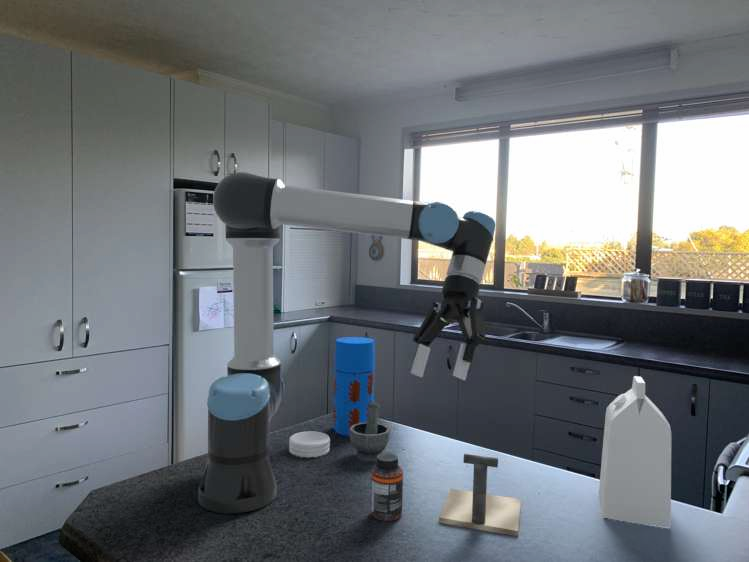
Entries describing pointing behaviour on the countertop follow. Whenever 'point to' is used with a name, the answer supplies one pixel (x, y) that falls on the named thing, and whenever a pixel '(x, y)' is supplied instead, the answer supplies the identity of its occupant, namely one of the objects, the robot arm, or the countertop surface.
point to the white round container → (309, 444)
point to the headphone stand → (481, 503)
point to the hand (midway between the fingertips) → (436, 376)
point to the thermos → (353, 382)
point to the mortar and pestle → (369, 436)
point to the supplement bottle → (386, 488)
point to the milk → (636, 460)
